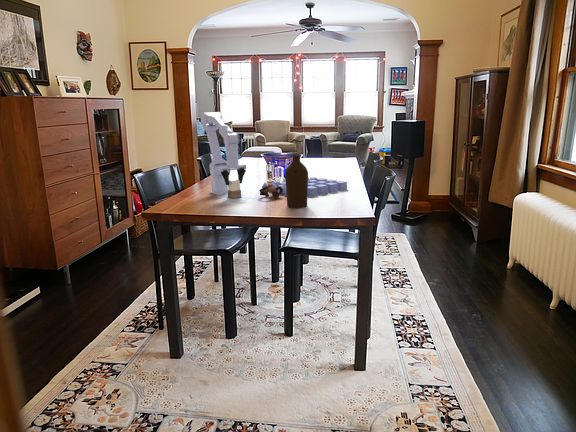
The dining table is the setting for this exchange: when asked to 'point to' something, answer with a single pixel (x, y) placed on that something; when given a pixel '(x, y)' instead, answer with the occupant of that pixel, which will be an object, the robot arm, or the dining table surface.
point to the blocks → (315, 186)
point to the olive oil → (296, 183)
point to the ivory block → (234, 185)
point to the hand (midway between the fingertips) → (233, 184)
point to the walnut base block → (234, 194)
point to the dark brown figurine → (271, 189)
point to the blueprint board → (235, 198)
